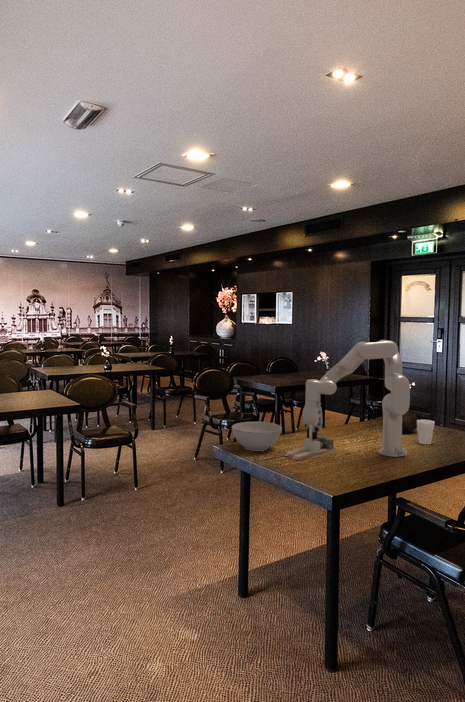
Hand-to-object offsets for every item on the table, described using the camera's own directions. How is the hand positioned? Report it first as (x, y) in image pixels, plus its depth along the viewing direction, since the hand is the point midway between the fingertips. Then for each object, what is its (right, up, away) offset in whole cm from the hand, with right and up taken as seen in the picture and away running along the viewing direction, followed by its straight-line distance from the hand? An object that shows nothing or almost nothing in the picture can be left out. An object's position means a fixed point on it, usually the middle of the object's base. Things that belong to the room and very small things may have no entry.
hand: (311, 438), depth 257 cm
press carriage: (0, -6, 0) cm, 6 cm away
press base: (-1, -8, 0) cm, 8 cm away
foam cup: (+68, -8, +24) cm, 72 cm away
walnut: (+5, -6, +4) cm, 8 cm away
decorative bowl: (-28, -8, +9) cm, 31 cm away
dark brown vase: (+66, -6, +55) cm, 86 cm away
